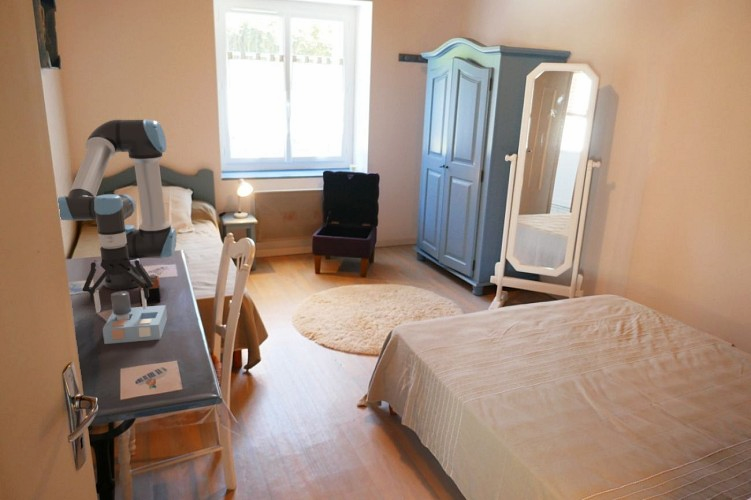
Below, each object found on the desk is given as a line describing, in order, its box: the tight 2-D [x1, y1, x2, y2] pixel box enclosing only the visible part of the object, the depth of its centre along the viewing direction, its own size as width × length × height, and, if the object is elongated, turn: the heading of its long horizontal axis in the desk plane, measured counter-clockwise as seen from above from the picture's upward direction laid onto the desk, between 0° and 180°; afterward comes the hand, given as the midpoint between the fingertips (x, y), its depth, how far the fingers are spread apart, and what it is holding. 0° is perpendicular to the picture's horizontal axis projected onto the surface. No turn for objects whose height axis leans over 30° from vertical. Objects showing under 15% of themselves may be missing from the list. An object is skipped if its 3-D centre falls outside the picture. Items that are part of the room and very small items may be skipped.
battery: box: [137, 274, 162, 304], centre depth 191 cm, size 4×7×10 cm, turn 111°
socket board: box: [102, 304, 168, 345], centre depth 167 cm, size 16×16×5 cm
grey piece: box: [110, 290, 132, 321], centre depth 165 cm, size 5×5×12 cm
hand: (122, 309), depth 165 cm, fingers open, 13 cm apart
